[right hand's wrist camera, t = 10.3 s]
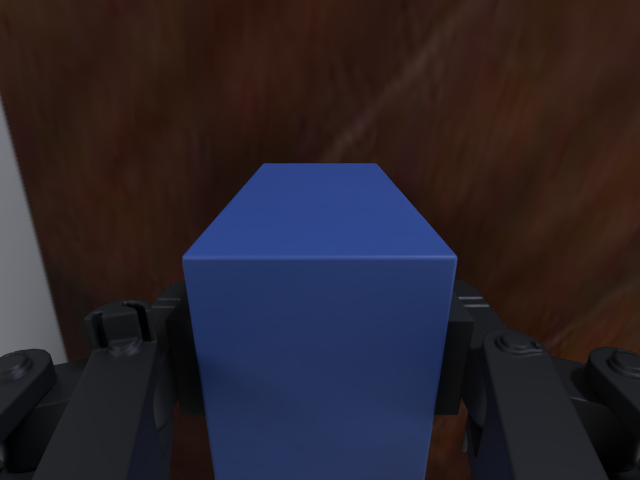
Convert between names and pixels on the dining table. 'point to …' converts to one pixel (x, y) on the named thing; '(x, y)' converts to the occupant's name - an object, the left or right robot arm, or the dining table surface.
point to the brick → (319, 326)
